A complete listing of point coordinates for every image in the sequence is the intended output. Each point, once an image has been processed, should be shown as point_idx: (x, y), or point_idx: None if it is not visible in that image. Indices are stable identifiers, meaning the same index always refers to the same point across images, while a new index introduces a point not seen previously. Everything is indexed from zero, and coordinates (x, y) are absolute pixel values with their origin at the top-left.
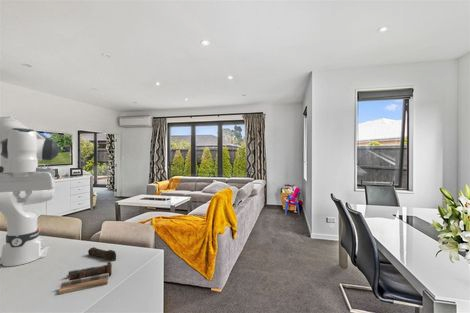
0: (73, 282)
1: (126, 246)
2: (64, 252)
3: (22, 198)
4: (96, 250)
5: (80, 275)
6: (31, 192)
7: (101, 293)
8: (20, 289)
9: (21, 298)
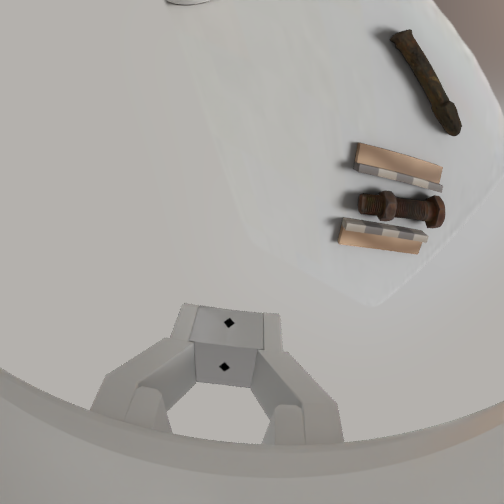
0: (367, 232)
1: (470, 55)
2: None
3: (232, 384)
4: (419, 62)
5: (383, 219)
6: (331, 424)
7: (399, 279)
8: (253, 166)
9: (268, 216)
